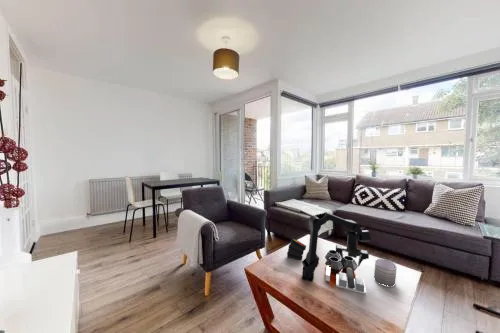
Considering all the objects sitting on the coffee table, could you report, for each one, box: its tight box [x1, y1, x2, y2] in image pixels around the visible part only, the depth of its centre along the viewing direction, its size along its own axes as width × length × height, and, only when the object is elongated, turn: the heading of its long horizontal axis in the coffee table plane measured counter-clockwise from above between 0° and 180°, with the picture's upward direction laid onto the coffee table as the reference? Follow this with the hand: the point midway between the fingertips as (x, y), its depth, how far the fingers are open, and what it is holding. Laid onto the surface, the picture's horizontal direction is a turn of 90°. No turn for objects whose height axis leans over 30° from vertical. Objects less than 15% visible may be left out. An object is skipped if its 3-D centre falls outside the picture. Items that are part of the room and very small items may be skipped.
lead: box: [346, 267, 355, 289], centre depth 126 cm, size 17×4×4 cm, turn 157°
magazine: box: [286, 237, 307, 261], centre depth 152 cm, size 4×13×15 cm, turn 73°
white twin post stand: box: [335, 271, 368, 295], centre depth 124 cm, size 16×12×5 cm
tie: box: [324, 264, 332, 282], centre depth 132 cm, size 12×2×4 cm, turn 157°
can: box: [373, 258, 398, 286], centre depth 128 cm, size 11×11×12 cm
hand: (350, 264), depth 130 cm, fingers open, 9 cm apart
